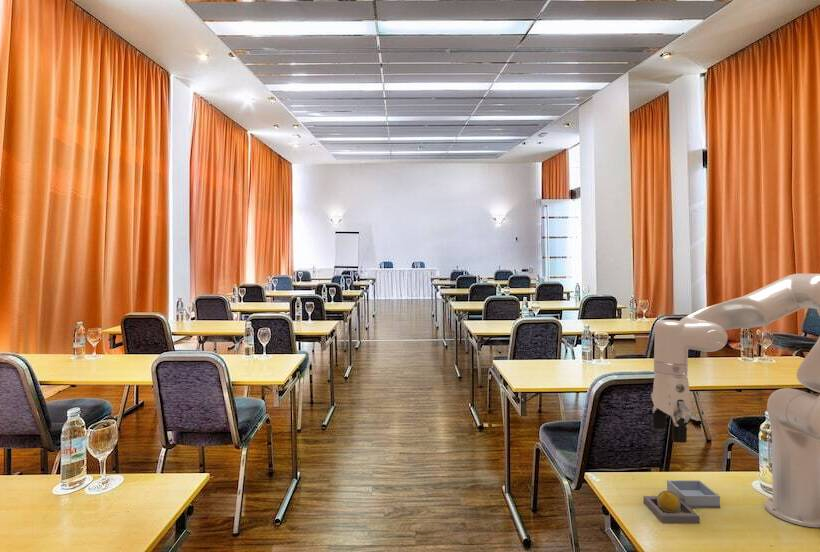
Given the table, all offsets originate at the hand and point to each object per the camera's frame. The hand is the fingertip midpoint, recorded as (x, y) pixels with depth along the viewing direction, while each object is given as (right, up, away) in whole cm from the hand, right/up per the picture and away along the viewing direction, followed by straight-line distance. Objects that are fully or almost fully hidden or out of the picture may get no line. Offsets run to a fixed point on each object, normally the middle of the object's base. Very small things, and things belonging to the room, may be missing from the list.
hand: (668, 434), depth 117 cm
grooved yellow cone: (+1, -20, 0) cm, 20 cm away
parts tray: (+10, -20, +7) cm, 24 cm away
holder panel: (+1, -20, 0) cm, 20 cm away
